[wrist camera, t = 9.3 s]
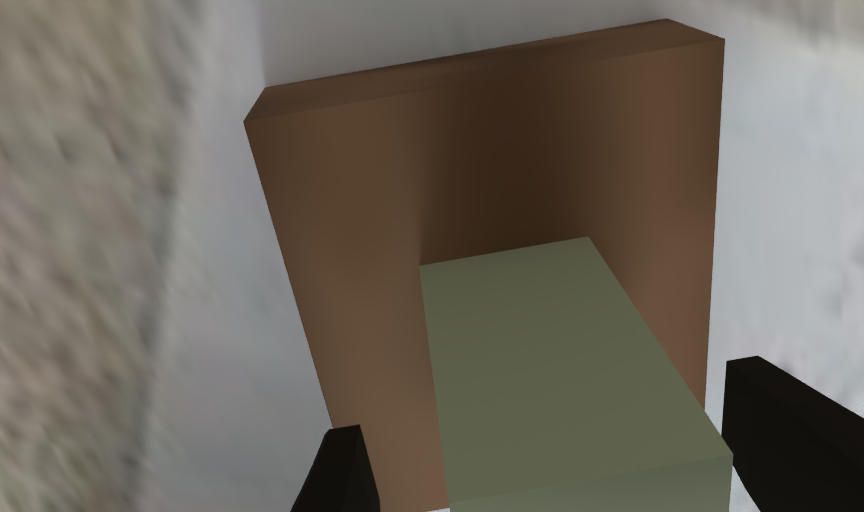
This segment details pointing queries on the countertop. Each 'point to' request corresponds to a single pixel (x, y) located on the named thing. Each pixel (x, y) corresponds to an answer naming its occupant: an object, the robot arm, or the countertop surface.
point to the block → (561, 391)
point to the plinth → (487, 205)
